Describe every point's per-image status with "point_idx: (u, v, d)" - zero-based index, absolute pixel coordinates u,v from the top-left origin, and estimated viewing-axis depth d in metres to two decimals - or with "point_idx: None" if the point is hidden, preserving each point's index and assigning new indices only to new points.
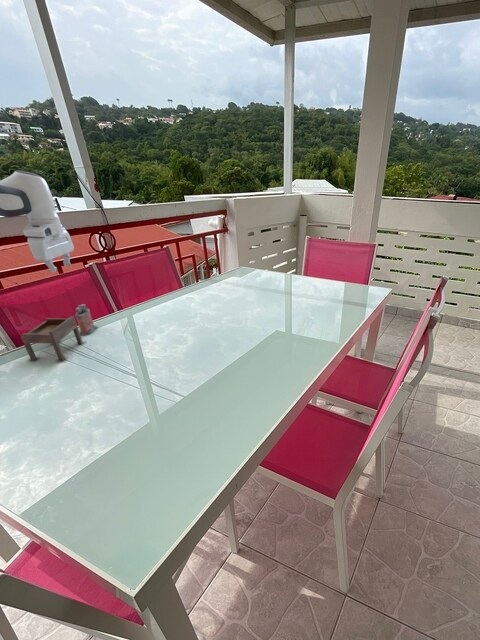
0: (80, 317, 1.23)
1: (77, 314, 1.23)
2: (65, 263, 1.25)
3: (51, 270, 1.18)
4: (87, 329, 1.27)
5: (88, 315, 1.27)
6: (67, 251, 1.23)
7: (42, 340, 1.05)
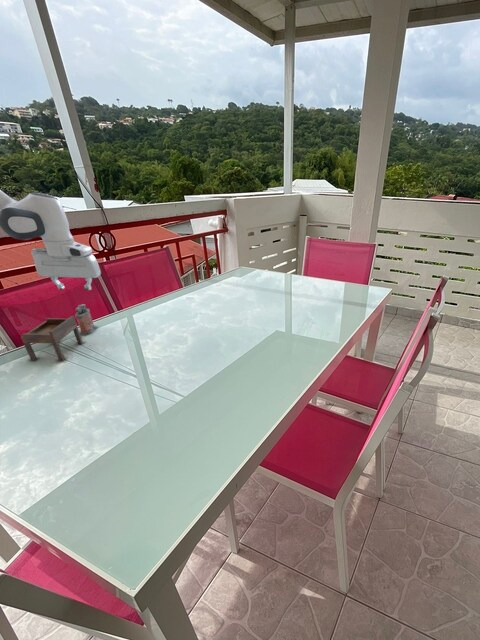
0: (80, 317, 1.23)
1: (77, 314, 1.23)
2: (62, 286, 1.19)
3: (89, 287, 1.20)
4: (87, 329, 1.27)
5: (88, 315, 1.27)
6: None
7: (42, 340, 1.05)
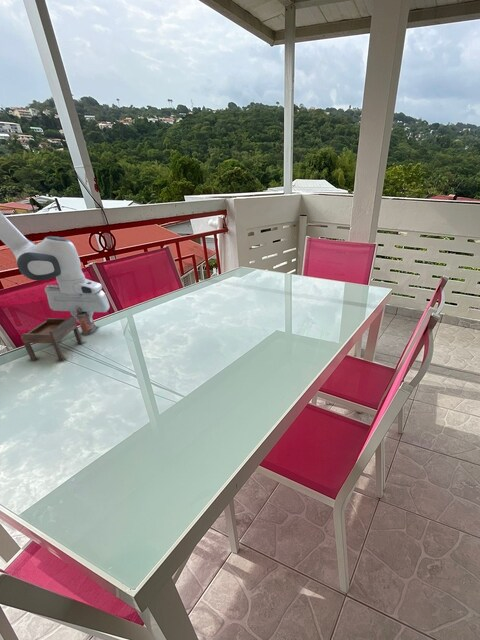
0: (81, 317, 1.23)
1: (78, 314, 1.23)
2: None
3: (91, 320, 1.27)
4: (88, 329, 1.27)
5: None
6: None
7: (42, 340, 1.05)
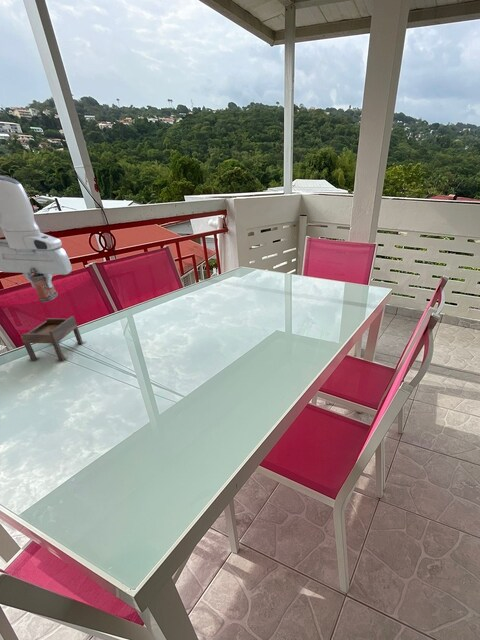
0: (36, 279, 1.01)
1: (32, 276, 1.02)
2: None
3: (49, 285, 1.06)
4: (47, 295, 1.05)
5: None
6: None
7: (42, 340, 1.05)
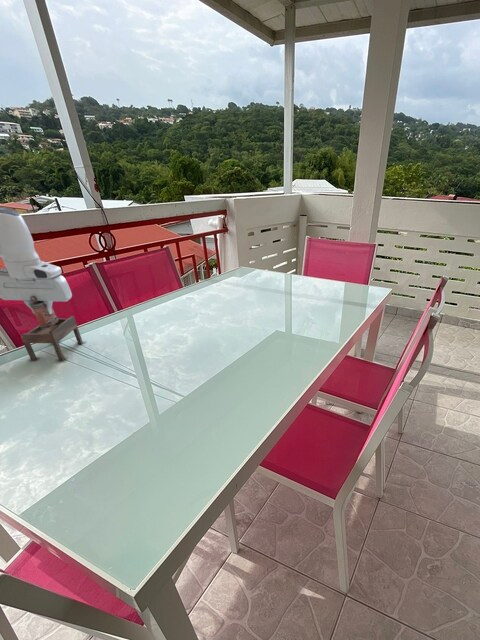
0: (36, 307, 1.02)
1: (33, 304, 1.03)
2: None
3: (50, 311, 1.06)
4: (47, 322, 1.06)
5: None
6: None
7: (42, 340, 1.05)
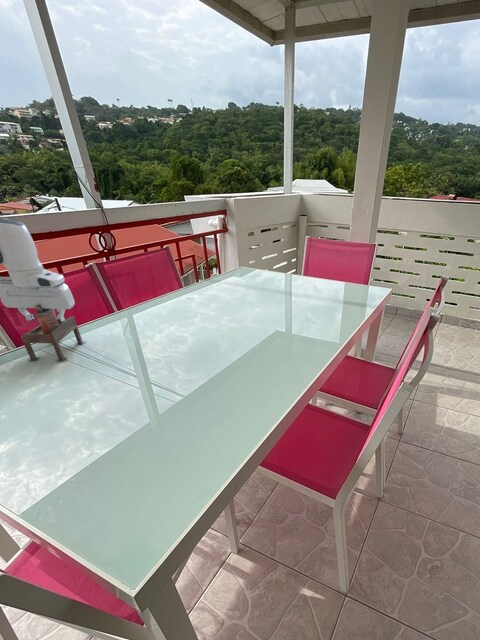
0: (41, 316, 1.04)
1: (37, 312, 1.04)
2: (31, 317, 1.07)
3: (62, 319, 1.08)
4: None
5: (52, 313, 1.08)
6: None
7: (42, 340, 1.05)
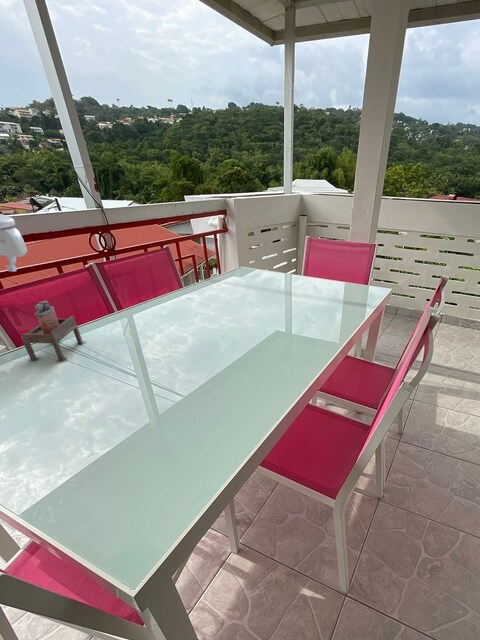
0: (41, 316, 1.04)
1: (37, 312, 1.04)
2: None
3: (13, 268, 0.99)
4: None
5: (52, 313, 1.08)
6: None
7: (42, 340, 1.05)
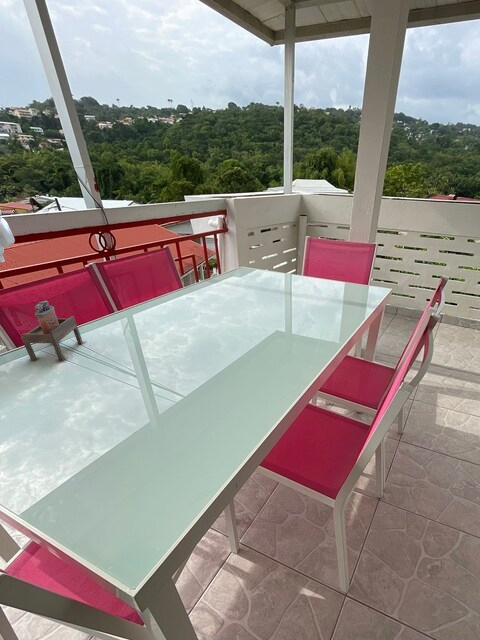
0: (41, 316, 1.04)
1: (37, 312, 1.04)
2: None
3: (1, 259, 0.97)
4: None
5: (52, 313, 1.08)
6: None
7: (42, 340, 1.05)
